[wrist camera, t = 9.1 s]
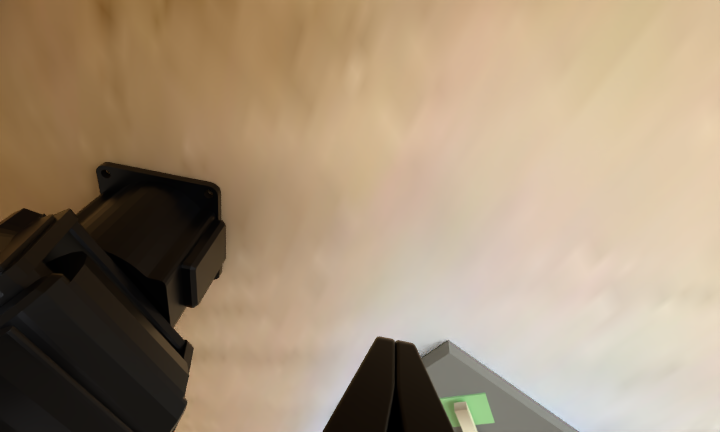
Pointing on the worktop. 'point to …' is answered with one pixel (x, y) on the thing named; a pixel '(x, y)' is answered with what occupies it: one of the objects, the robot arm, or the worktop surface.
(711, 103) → the worktop surface
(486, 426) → the gray rectangular base plate
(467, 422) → the pull lever
